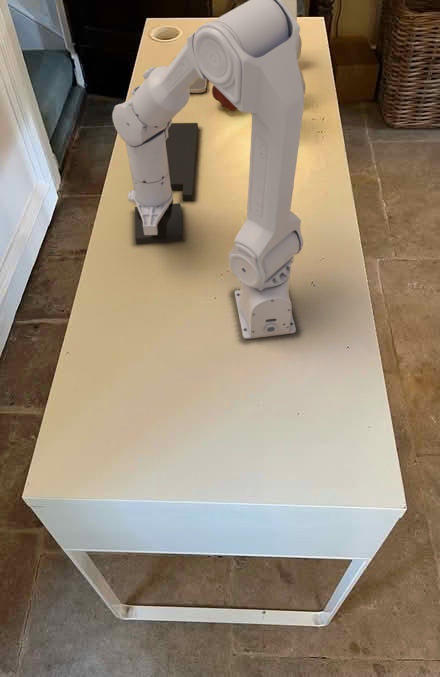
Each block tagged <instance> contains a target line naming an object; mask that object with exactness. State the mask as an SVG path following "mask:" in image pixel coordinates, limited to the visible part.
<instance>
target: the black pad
mask: <svg viewBox="0 0 440 677" xmlns="http://www.w3.org/2000/svg"><path fill="white" fill-rule="evenodd" d="M198 136H199V123H198V122H172V123H171V126H170V127H169V128H168V138H167V139H166V141H165V142H166V150H167V159H168V168H169V176H170V185H171V189H172V191H182V201H183V202H193V201H194V190H195V178H196V165H197V164H196V162H197V150H198Z"/></svg>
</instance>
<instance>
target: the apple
mask: <svg viewBox="0 0 440 677" xmlns="http://www.w3.org/2000/svg"><path fill="white" fill-rule="evenodd" d="M211 94H212V97H213V99H214V100H216V101H218V103H220V105H221V107H222V108H224V109H226V110H228V111H237V110H238V109H237V108H236V107H235V106H234V105H233V104H232V103H231V102H230V101H229V100H228V99H227V98H226V97H225V96H224V95H223V94H222V93H221V92H220V91H219V90H218V89H217V88H216V87H215V86H214V85H213V84H212V87H211ZM238 111H239V110H238Z"/></svg>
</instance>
